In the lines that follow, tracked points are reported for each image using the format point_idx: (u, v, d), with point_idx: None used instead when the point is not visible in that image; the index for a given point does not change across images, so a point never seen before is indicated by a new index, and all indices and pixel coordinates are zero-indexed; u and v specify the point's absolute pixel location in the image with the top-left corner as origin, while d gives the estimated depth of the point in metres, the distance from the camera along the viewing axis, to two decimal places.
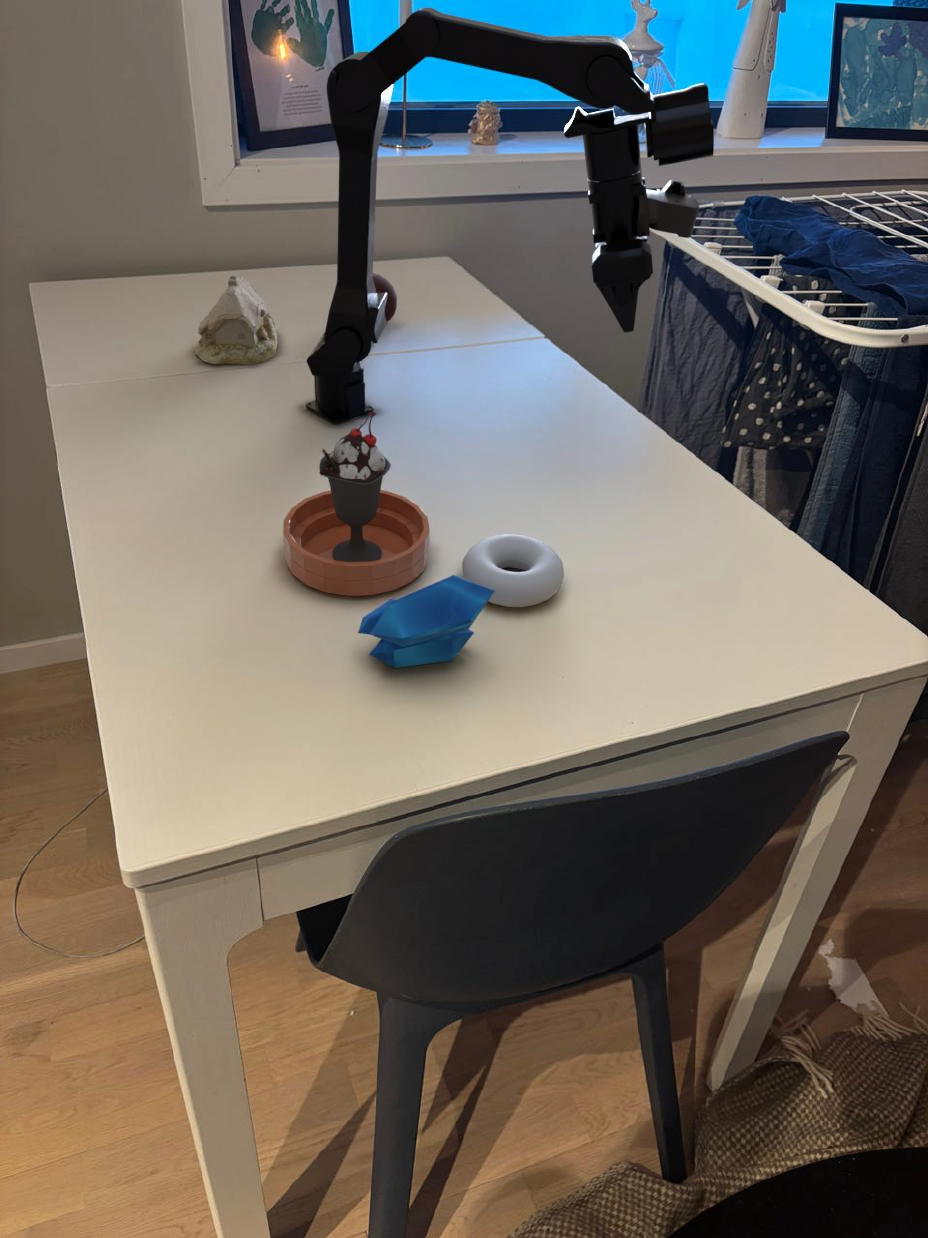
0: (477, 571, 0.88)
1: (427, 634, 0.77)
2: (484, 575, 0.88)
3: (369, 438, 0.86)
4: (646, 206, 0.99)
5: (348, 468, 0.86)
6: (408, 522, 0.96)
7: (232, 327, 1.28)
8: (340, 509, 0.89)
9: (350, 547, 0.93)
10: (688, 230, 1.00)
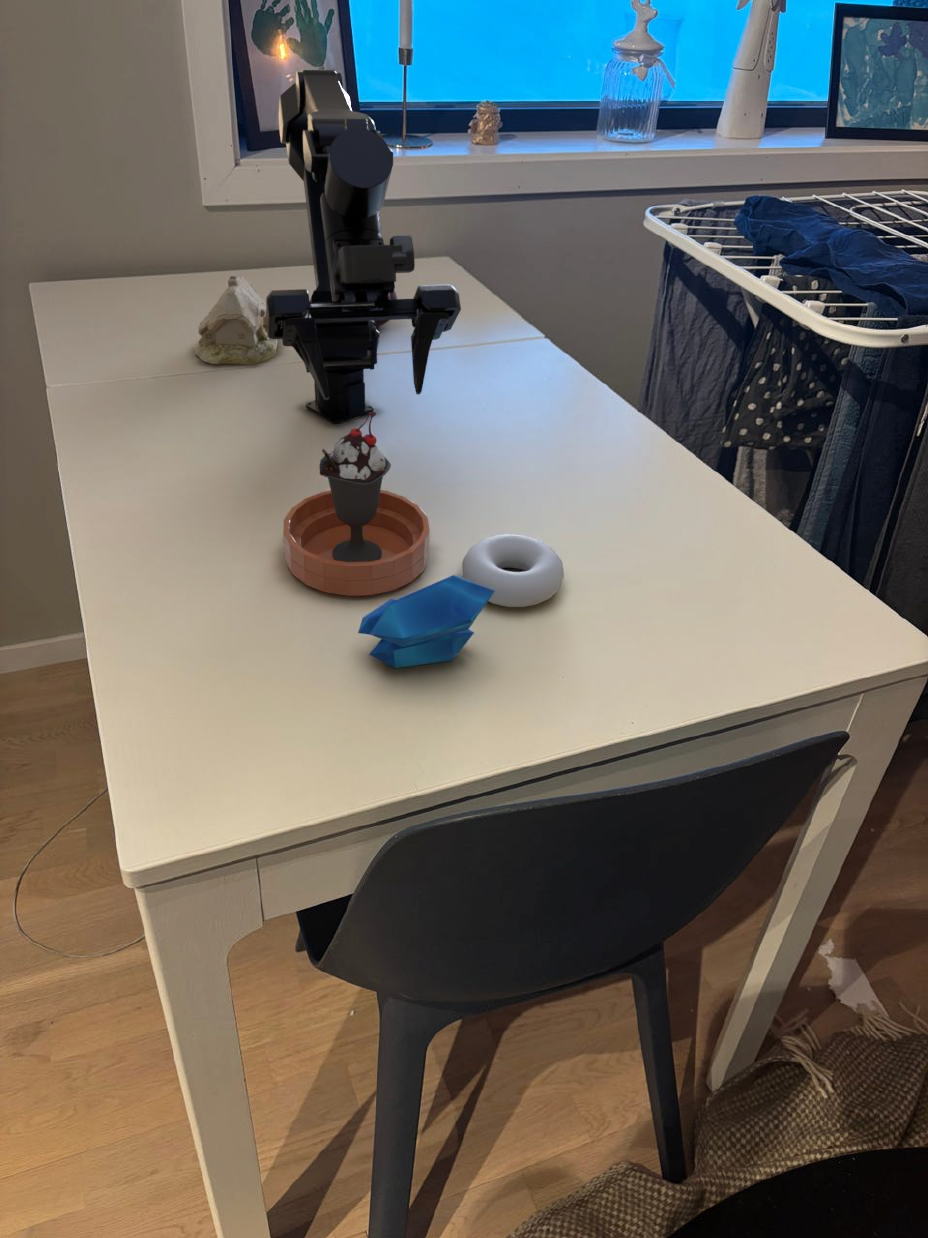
0: (477, 571, 0.88)
1: (427, 634, 0.77)
2: (484, 575, 0.88)
3: (369, 438, 0.86)
4: (333, 260, 0.89)
5: (348, 468, 0.86)
6: (408, 522, 0.96)
7: (232, 327, 1.28)
8: (340, 509, 0.89)
9: (350, 547, 0.93)
10: (346, 273, 0.85)
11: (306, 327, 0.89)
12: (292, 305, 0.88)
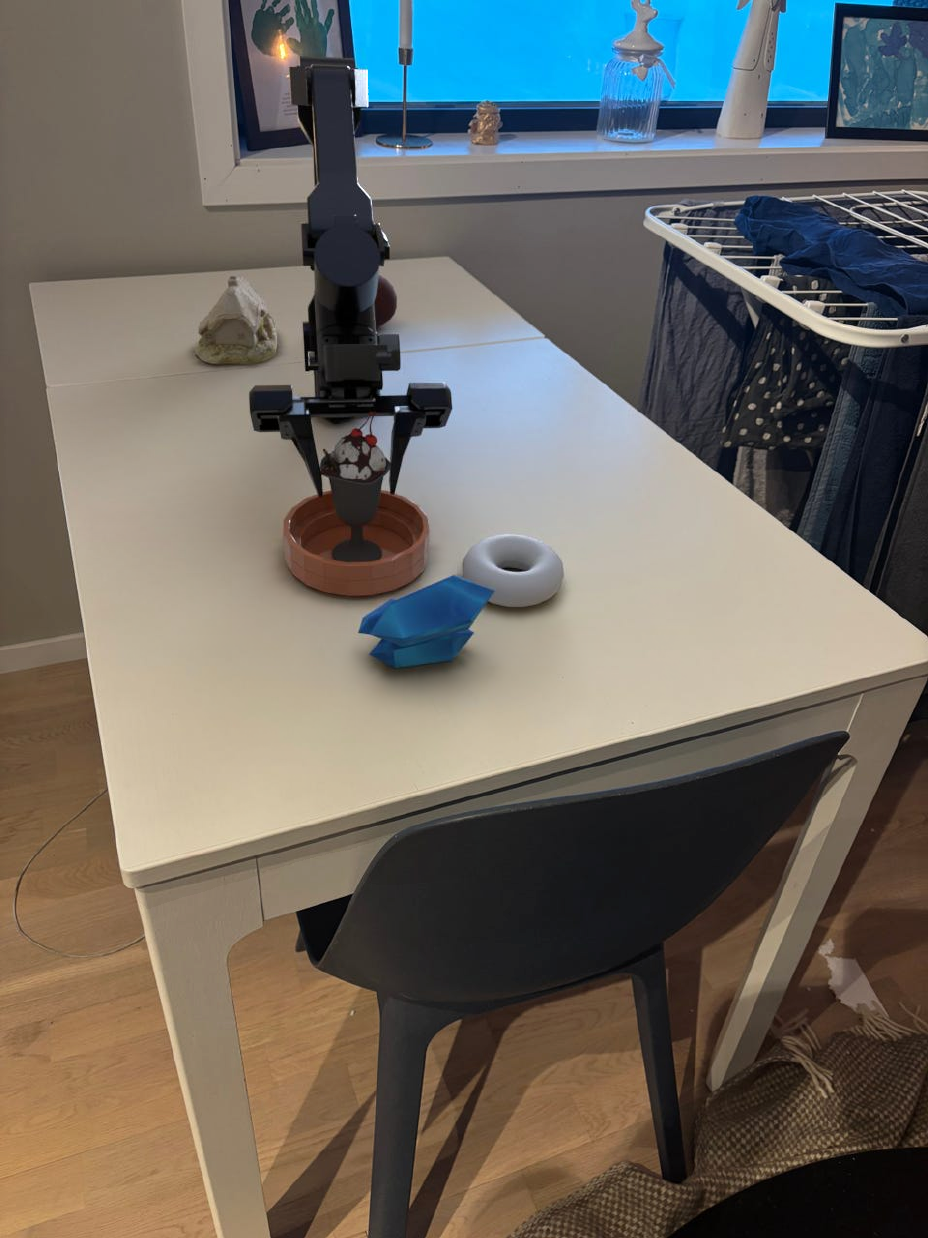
0: (477, 571, 0.88)
1: (427, 634, 0.77)
2: (484, 575, 0.88)
3: (370, 438, 0.86)
4: (320, 355, 0.86)
5: (349, 468, 0.86)
6: (408, 522, 0.96)
7: (232, 327, 1.28)
8: (340, 509, 0.89)
9: (350, 547, 0.93)
10: (327, 372, 0.82)
11: (301, 423, 0.86)
12: (274, 401, 0.85)
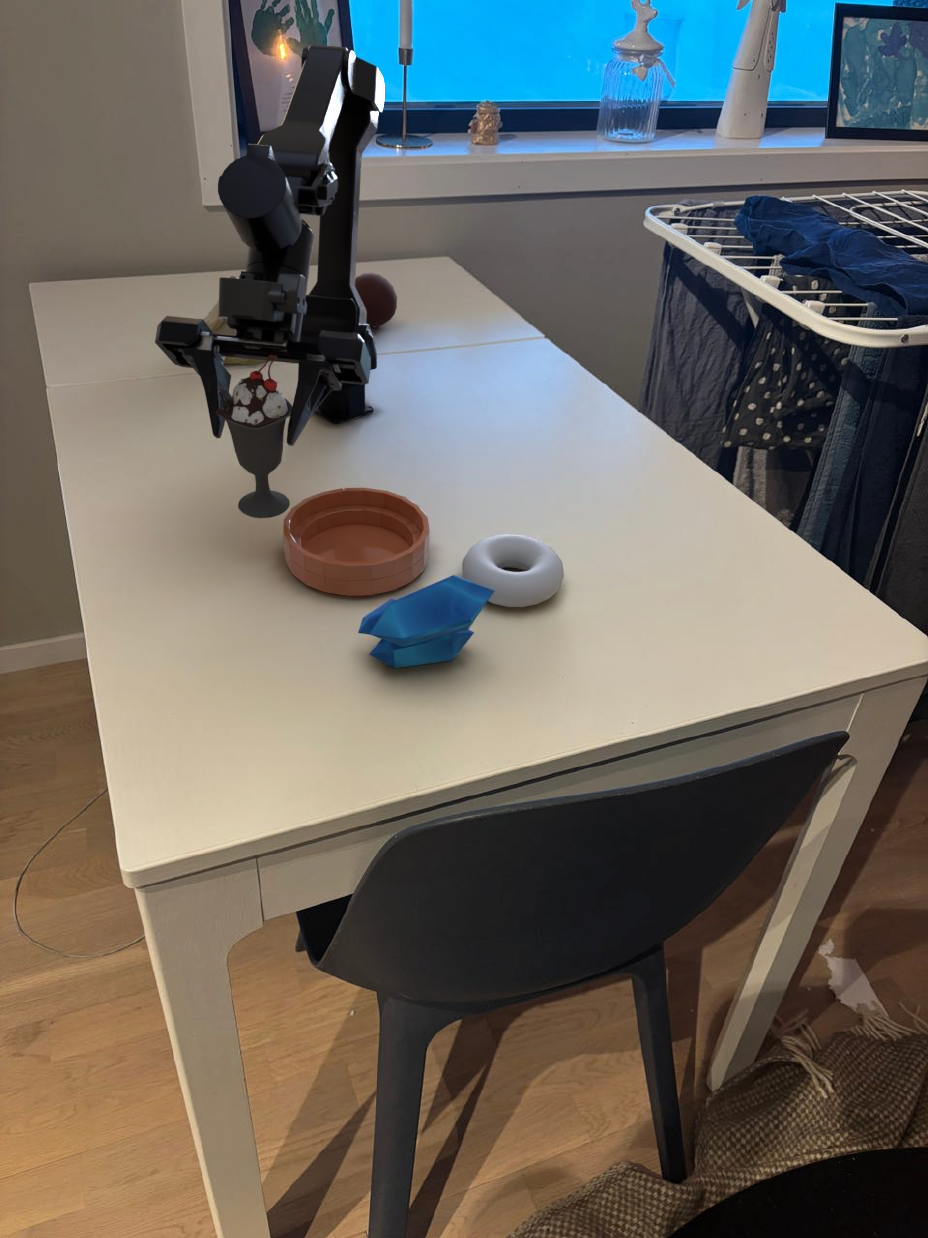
0: (477, 571, 0.88)
1: (427, 634, 0.77)
2: (484, 575, 0.88)
3: (268, 382, 0.83)
4: None
5: (240, 410, 0.82)
6: (408, 522, 0.96)
7: None
8: (237, 453, 0.86)
9: (254, 496, 0.89)
10: None
11: (203, 359, 0.83)
12: (178, 333, 0.83)
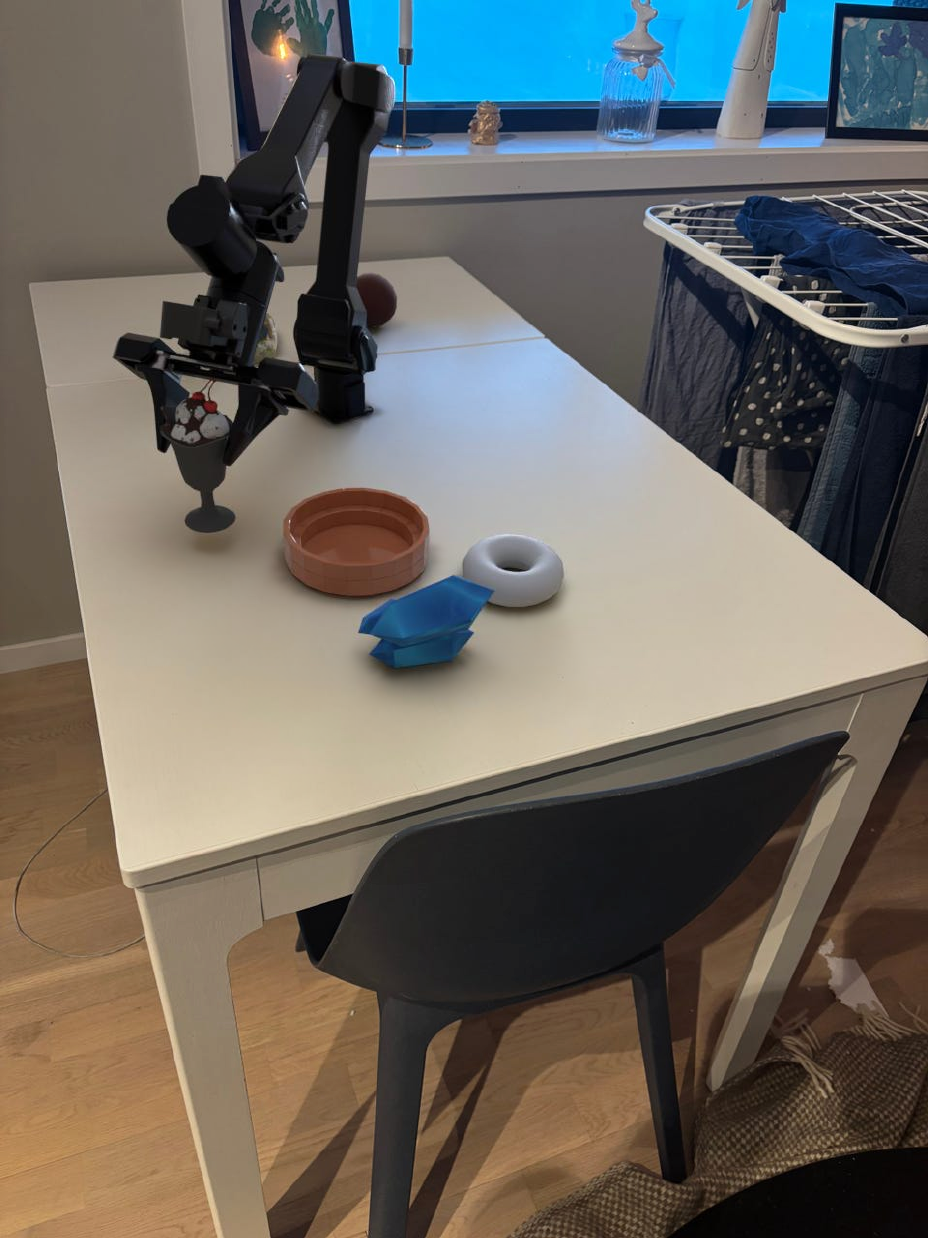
0: (477, 571, 0.88)
1: (427, 634, 0.77)
2: (484, 575, 0.88)
3: (207, 404, 0.85)
4: None
5: (178, 428, 0.85)
6: (408, 522, 0.96)
7: None
8: (179, 469, 0.88)
9: (200, 511, 0.92)
10: (160, 328, 0.82)
11: (153, 377, 0.87)
12: (133, 350, 0.87)
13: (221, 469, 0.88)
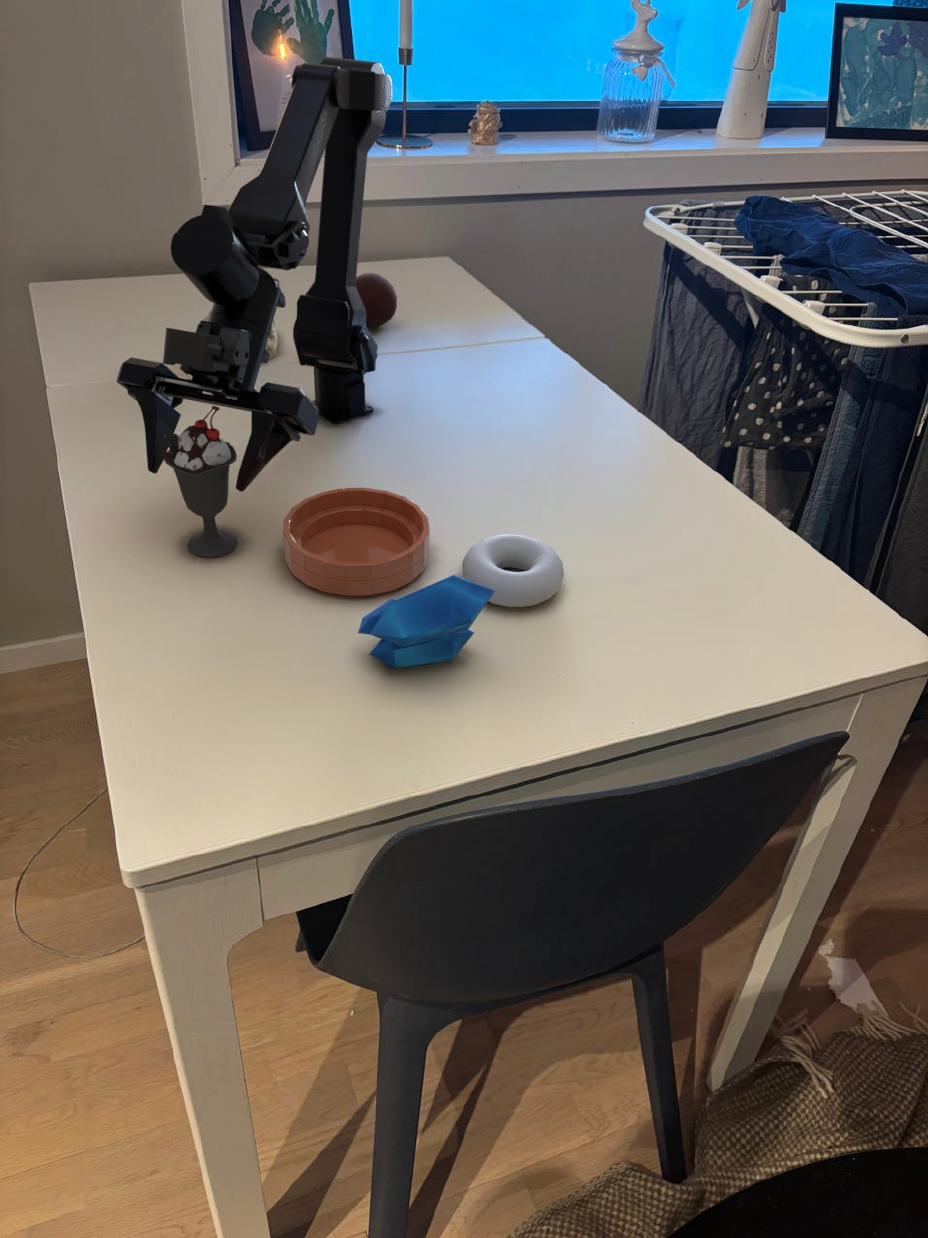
0: (477, 571, 0.88)
1: (427, 634, 0.77)
2: (484, 575, 0.88)
3: (210, 432, 0.87)
4: None
5: (181, 456, 0.87)
6: (408, 522, 0.96)
7: None
8: (182, 495, 0.90)
9: (202, 536, 0.94)
10: None
11: (144, 399, 0.88)
12: (136, 375, 0.88)
13: (223, 495, 0.90)
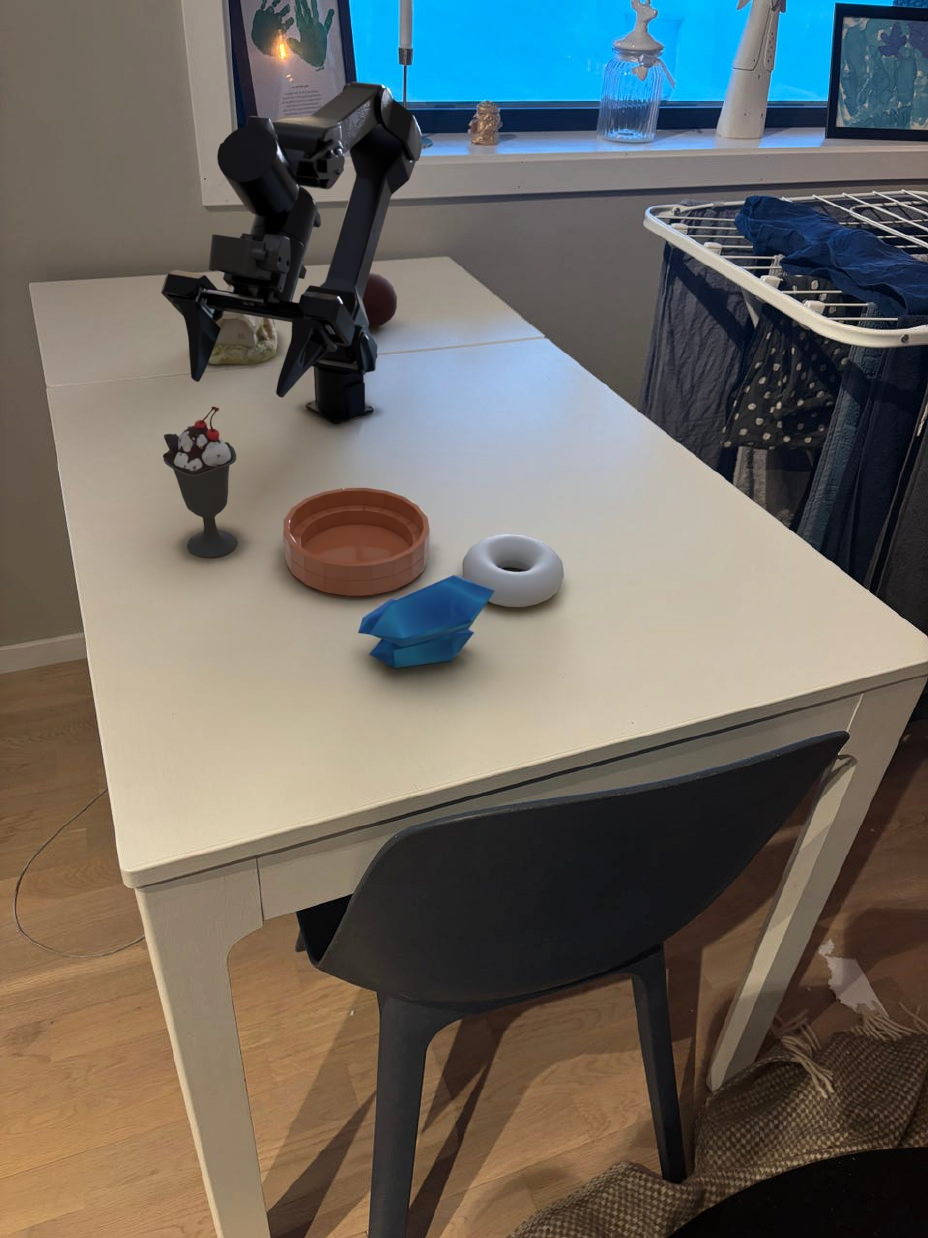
0: (477, 571, 0.88)
1: (427, 634, 0.77)
2: (484, 575, 0.88)
3: (209, 432, 0.87)
4: None
5: (181, 456, 0.87)
6: (408, 522, 0.96)
7: (232, 327, 1.28)
8: (182, 495, 0.90)
9: (202, 536, 0.94)
10: (209, 260, 0.87)
11: (188, 308, 0.92)
12: (180, 285, 0.92)
13: (223, 495, 0.90)
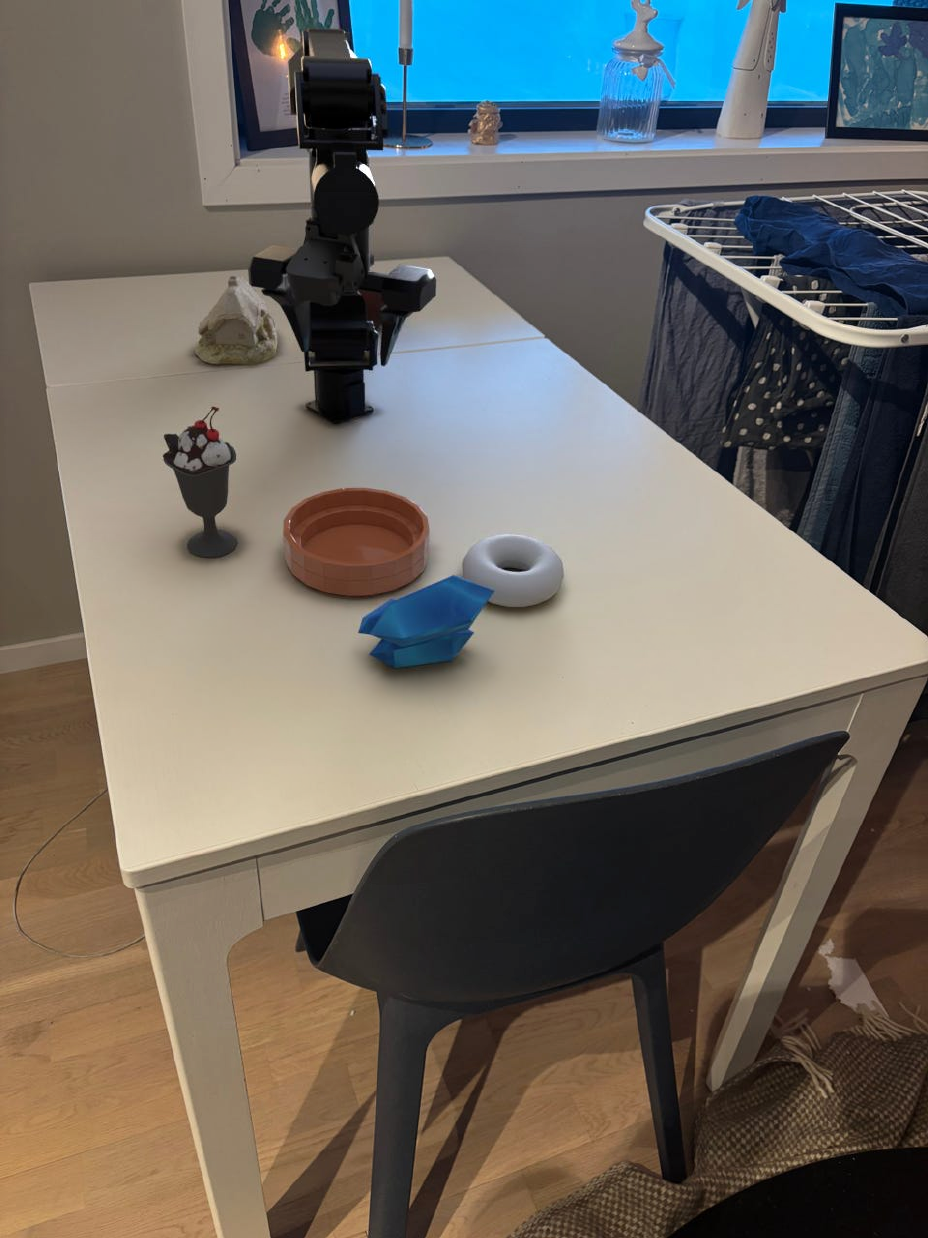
0: (477, 571, 0.88)
1: (427, 634, 0.77)
2: (484, 575, 0.88)
3: (209, 432, 0.87)
4: None
5: (181, 456, 0.87)
6: (408, 522, 0.96)
7: (232, 327, 1.28)
8: (182, 495, 0.90)
9: (202, 536, 0.94)
10: (291, 290, 0.91)
11: (280, 299, 0.97)
12: (266, 280, 0.95)
13: (223, 495, 0.90)
